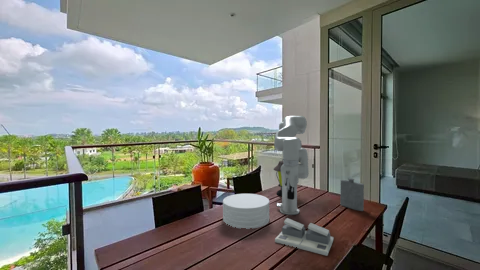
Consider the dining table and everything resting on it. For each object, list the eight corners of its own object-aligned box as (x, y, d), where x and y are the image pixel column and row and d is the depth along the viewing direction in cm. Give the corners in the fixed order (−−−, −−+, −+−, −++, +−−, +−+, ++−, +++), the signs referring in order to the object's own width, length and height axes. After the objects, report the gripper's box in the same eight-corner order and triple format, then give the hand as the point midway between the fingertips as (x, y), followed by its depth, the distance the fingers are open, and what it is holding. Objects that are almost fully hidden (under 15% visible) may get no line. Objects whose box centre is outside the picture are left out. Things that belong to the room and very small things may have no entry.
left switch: (283, 223, 117) (284, 220, 117) (286, 220, 121) (287, 217, 120) (301, 230, 112) (301, 228, 112) (303, 227, 116) (304, 224, 116)
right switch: (307, 228, 111) (308, 225, 111) (309, 224, 114) (310, 222, 114) (326, 236, 106) (327, 234, 106) (328, 232, 110) (329, 230, 110)
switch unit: (274, 242, 111) (274, 232, 111) (286, 229, 125) (286, 221, 125) (327, 255, 99) (327, 245, 99) (333, 240, 113) (333, 231, 113)
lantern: (291, 190, 202) (291, 155, 201) (305, 196, 184) (305, 158, 183) (266, 193, 193) (266, 157, 192) (278, 199, 175) (278, 160, 174)
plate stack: (213, 223, 134) (213, 203, 134) (236, 208, 159) (236, 191, 159) (258, 233, 121) (258, 211, 121) (275, 215, 146) (275, 197, 145)
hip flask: (364, 210, 152) (364, 180, 151) (361, 211, 150) (361, 181, 149) (342, 203, 165) (342, 176, 164) (338, 204, 163) (339, 176, 162)
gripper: (294, 165, 108) (294, 204, 109) (302, 161, 121) (302, 195, 122) (278, 164, 112) (278, 202, 112) (288, 160, 125) (288, 194, 125)
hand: (290, 198), depth 117 cm, fingers closed
